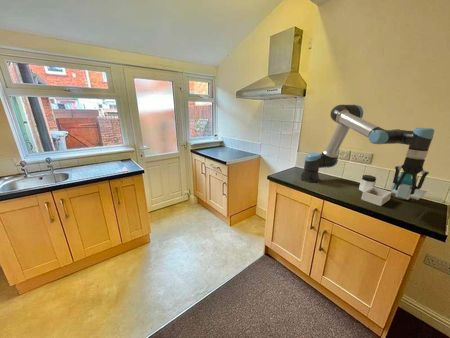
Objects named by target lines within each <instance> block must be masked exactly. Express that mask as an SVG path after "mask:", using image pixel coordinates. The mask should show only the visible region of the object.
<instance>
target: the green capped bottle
mask: <svg viewBox="0 0 450 338" xmlns="http://www.w3.org/2000/svg"><path fill="white" fill-rule="evenodd" d="M400 172H401V173H400V174H399V176H398V180H397V182H398V181H399V179H400V178H401V176H402V175H403V173H404V171H403V170H402V171H400ZM401 184H407V185H411V186H412V175H411V174H407V175H406V176H405V178H404V180H403V181H402V183H401ZM401 184H400V185H401ZM395 188H396V184H395V183H393V182H392V184H391V188H390V192H391V191H392V190H394V189H395ZM391 197H393V198H394V199H397V200H403V201H405V200H406V199H404V198H401V197H398V196H397V197H396V194H395V193H392V194H391Z"/></svg>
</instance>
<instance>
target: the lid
mask: <svg viewBox="0 0 450 338" xmlns="http://www.w3.org/2000/svg"><path fill="white" fill-rule="evenodd" d="M410 188H412V186H411V185H407V184H401V185H400V188H399V191H398V194H397V196H398V197H401V198H404V199H405V200H407V196H408V193H409V190H410ZM390 192H392V193H395V194H396V193H397V190H395V189H394V190H392V191H391V190H390ZM427 192H428V191H427V190H424V189H423V190H422V189H421V188H420V189H415V192H414V194H413V195H412V194H411V196H410V199H414V200H416V201H418V200H420V199H421V198H422V197H423V196H424V195H425V194H427Z"/></svg>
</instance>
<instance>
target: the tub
mask: <svg viewBox="0 0 450 338" xmlns="http://www.w3.org/2000/svg"><path fill="white" fill-rule="evenodd" d="M372 191H376V192H378V194H377V195H374V194H371V192H372ZM391 194H392V192H391V190H386V189H383V188H379V187H376V186H374V187H371V188H369V189H367V190H365V191H363V192H362V195H361V198H360V200H362V201H365V202H367V203H370V204H374V205H377V206H379V207H381V206H383V205H384V204H385V203H388V201H390V200H391V198H392V195H391Z"/></svg>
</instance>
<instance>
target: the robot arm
mask: <svg viewBox="0 0 450 338" xmlns="http://www.w3.org/2000/svg"><path fill="white" fill-rule="evenodd" d="M329 116H330V118H331V120H332V121H333V122H335V123H336V124H337V126H336V127H335V129H334V131H333V134H332V135H331V138H330V140H329V142H328V144H327V146H326V148H325V149H323V151H322V152H321V153H320V152H314V151H313V152H308V153H307V154H305V158H304V165H303V171H302V173H301V175H300V180H302V181H303V182H307V183H319V182H320V174H319V169H321V168H322V169H325V168H327V169H328V168H334V167H335V166H336V165H337V164H338V161H339V160H338V159H339V157H338V151H339V150H340V147H341V146H342V144H343V142H344V140H345V138H346V136H347V134H348V133H349V131H350V129H351V130H353V131H354V132H357V133H359V134H360V135H363V136H364V137H366V138H368V140H369V142H370V143H371V144H372V145H388V144H391V145H392V144H399V145H400V144H401V145H407V146H408V147H407V148H408V149H407V151H406V154H405V155H406V157H405V158H404V162H403V164H402V165H397V166H394V169H395V172H394V176H393V180H392V184H393V183H395V184H396V188H395V190H397V193H396V197H397V194H398V191H399V188H400V184H401V183H402V181H403V180H404V178H405V176H406V175H407V174H411V175H412V188H410V190H409V193H408V196H407V199H406V200H410V199H411V198H410V196H411V194H412V195H413V194H414V192H415V189H420V190H421V189H422V187H423V184H424V182H425V180H426V177H427V176H428V174H429V173H430V172H429V171H426V170H424V168H423V167H424V164H425V161H426V158H427V156H428V152H429V149H430V146H431V143H432V141H433V138H434V134H435V129H434V128H430V127H415V128H414V129H413V130H407V129H399V128H398V129H396V128H395V129H385V128H382V127H381V126H377V125H376V124H373V123H372V122H370V121H367V120H365V119H363V116H364V109H363V107H362V106H361V105H359V104H338V105H336V106H334V107H333V108H332V109H331V110H330V115H329ZM401 170H402V172H403V171H404V173H403V175H402V176H401V178H400V179H399V181H398V182H397V180H398V176H400V172H401ZM419 173H421V177H420V179H419V181H418V184H417V179H418V178H417V176H418V174H419Z"/></svg>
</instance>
